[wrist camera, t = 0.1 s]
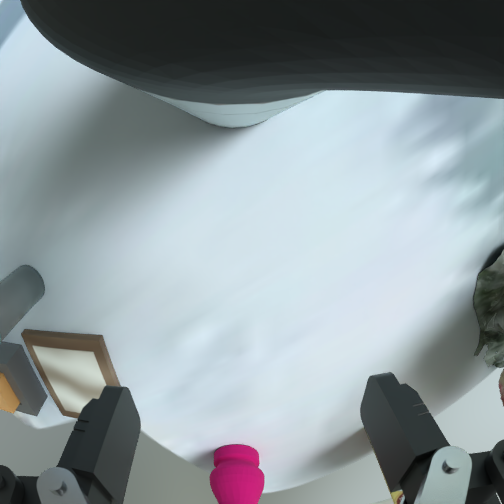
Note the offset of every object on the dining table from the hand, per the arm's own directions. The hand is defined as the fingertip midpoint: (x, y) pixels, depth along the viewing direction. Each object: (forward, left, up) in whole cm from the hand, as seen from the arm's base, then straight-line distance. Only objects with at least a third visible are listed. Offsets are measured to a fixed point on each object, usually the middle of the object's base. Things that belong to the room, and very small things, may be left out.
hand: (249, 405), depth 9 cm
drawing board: (+17, -20, -17) cm, 31 cm away
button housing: (+17, -32, -17) cm, 40 cm away
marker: (+4, -22, -17) cm, 28 cm away
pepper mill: (+32, -2, -17) cm, 36 cm away
